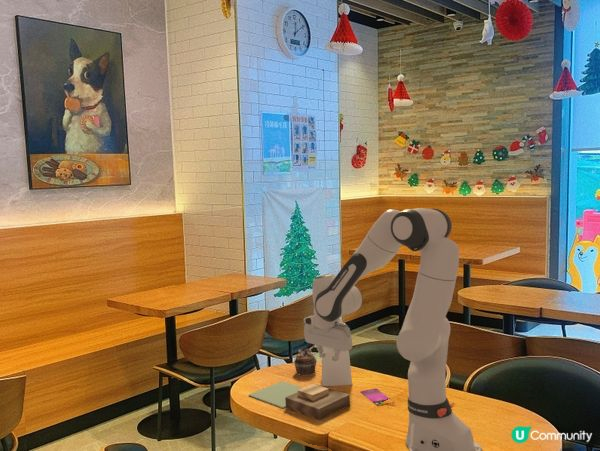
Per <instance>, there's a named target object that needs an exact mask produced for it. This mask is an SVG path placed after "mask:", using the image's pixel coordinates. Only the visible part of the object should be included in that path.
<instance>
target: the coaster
mask: <svg viewBox="0 0 600 451" xmlns="http://www.w3.org/2000/svg"><path fill="white" fill-rule="evenodd" d="M325 387H326V386H323V387H322V385H320V386H319V384H315V383H311V384H309V385H307V386H305V387H303V388H302V389H299V390H298V396H301V397H304V398H307V399H310V400H313V401H314V400H316V399H319V398H321V397H323V396H325V395H328V394H329V389H330V388H329V387H326V388H325ZM328 388H329V389H328Z"/></svg>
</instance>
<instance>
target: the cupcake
mask: <svg viewBox="0 0 600 451" xmlns="http://www.w3.org/2000/svg"><path fill="white" fill-rule="evenodd" d="M317 363H318V362H317V358H316V357H315V354H314V353H313V352H312V349H311V348H310V347H309V348H300V349H299V350H298V353H297V354H296V356H295V360H294V364H293V365H294V368H295V371H296V374H297V373H298V374H300V375H299V376H301V375H308V376H312V375H314V374H315V373H316V367H317V366H316V365H317ZM298 374H297V375H298Z"/></svg>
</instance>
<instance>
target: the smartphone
mask: <svg viewBox="0 0 600 451" xmlns="http://www.w3.org/2000/svg"><path fill="white" fill-rule="evenodd" d="M360 393H361V395H363V396H364V397H365V398H366V399H368V400H369V401H370V402H371V403H373V404H374V405H375V406H377V407H380V406H379V405H380V404H382V403H383V402H384V401H386V400H388V399H391V398H389V397H388V396H387V395H385V394H384V393H383V392H382V391H381V390H379V389H378V388H370V389H366V390H360Z"/></svg>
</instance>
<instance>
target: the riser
mask: <svg viewBox="0 0 600 451" xmlns="http://www.w3.org/2000/svg"><path fill="white" fill-rule="evenodd" d="M318 385H319V384H318ZM319 386H322V385H319ZM322 387H325V388H328V389H329V394H328V395H325V396H323V397H321V398H319V399H316V400H314V401H313V400H310V399H307V398H304V397H301V396H298V392H297V393H294V394H292V395H290V396H287V397H285V401H286V408H285V409H287V410H290V411H293V412H296V413H299V414H301V415H304V416H306V417H309V418H312V419H314V420H317V421H321V420H324V419H325V418H327V417H329V416H331V415H333V414H336V413H337V412H338V413H339V411H341V410H344V409H346V408H348V407H350V406H351V397H350V395H351V394H349V393H345V392H342V391H339V390H335V389H334V388H329V387H327V386H322Z"/></svg>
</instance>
